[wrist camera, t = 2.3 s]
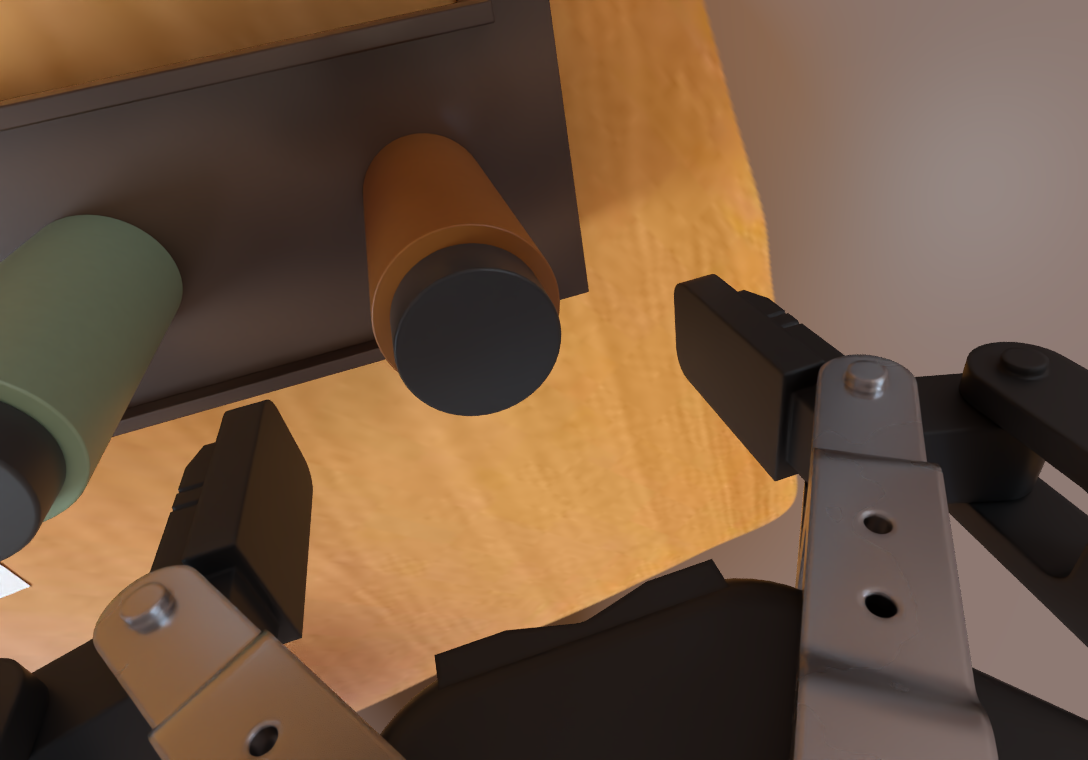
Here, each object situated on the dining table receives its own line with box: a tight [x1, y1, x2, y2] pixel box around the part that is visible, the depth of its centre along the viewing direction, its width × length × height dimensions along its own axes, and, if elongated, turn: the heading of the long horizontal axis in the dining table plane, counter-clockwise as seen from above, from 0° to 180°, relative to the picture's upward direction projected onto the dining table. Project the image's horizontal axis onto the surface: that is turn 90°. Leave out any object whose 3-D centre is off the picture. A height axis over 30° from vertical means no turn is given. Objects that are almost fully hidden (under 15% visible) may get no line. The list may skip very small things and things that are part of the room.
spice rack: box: [0, 0, 589, 437], centre depth 23 cm, size 11×22×8 cm, turn 100°
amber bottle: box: [363, 133, 561, 416], centre depth 17 cm, size 4×4×11 cm
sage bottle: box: [0, 215, 183, 561], centre depth 16 cm, size 4×4×11 cm
